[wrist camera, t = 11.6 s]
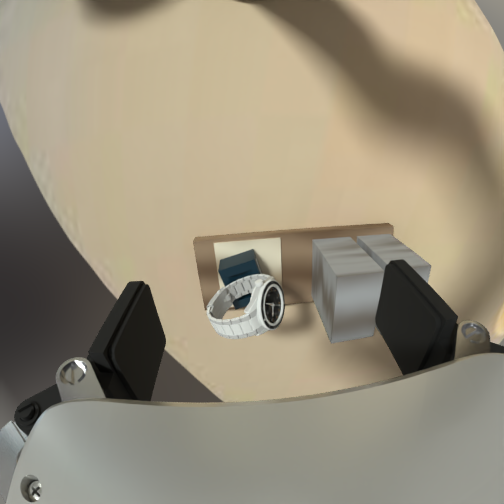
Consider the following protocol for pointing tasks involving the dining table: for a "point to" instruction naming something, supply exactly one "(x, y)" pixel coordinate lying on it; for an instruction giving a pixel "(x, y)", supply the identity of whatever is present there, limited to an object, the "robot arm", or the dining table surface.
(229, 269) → the watch
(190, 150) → the dining table surface
